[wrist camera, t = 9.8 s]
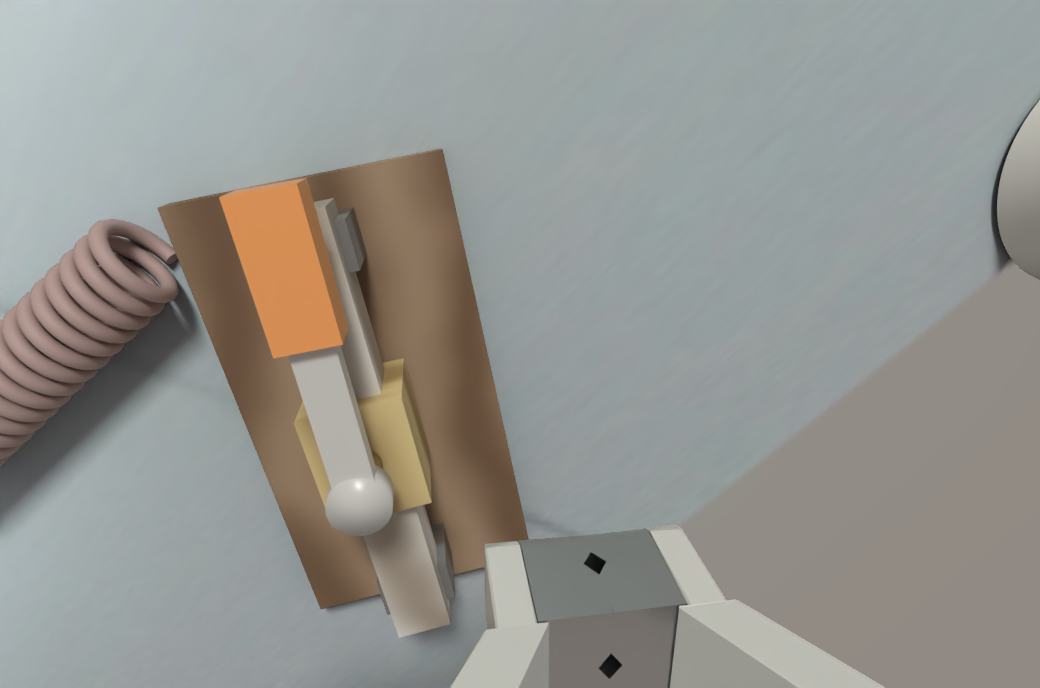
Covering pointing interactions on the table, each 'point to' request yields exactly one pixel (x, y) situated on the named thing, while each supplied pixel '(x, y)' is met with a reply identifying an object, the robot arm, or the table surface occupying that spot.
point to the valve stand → (374, 385)
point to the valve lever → (310, 340)
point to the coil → (77, 323)
